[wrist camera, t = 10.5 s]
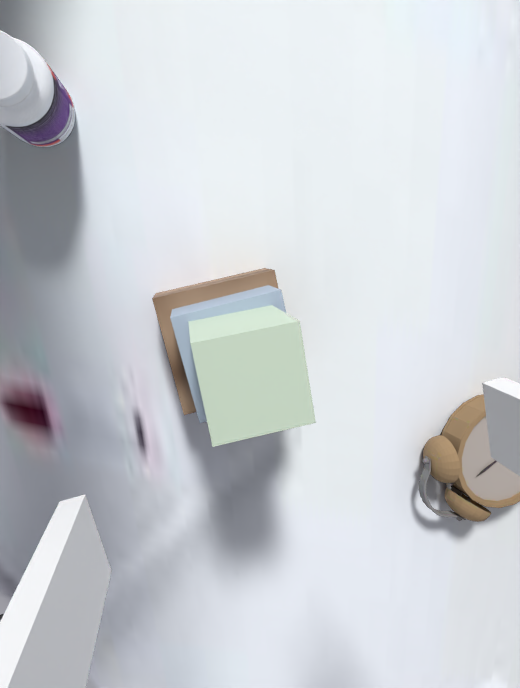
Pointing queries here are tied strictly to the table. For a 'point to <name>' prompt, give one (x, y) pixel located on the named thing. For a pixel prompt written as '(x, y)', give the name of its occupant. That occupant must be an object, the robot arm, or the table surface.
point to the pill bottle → (32, 96)
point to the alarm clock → (468, 466)
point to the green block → (251, 373)
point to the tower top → (211, 309)
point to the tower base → (195, 295)
